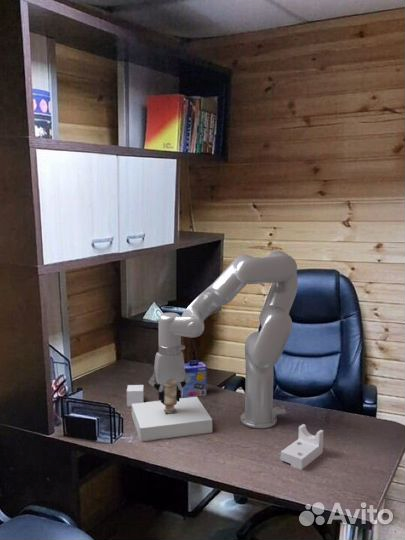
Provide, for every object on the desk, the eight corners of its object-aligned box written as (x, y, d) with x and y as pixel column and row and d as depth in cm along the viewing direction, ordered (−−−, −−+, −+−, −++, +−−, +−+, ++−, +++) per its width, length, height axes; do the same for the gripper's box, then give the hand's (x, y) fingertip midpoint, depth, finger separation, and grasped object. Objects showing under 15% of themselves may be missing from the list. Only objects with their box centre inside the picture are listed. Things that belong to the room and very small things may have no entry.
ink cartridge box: (182, 398, 210) (182, 362, 207) (179, 393, 215) (178, 358, 212) (207, 395, 213) (207, 360, 210) (203, 390, 218) (203, 355, 215)
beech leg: (175, 410, 191) (175, 374, 188) (178, 416, 186) (178, 379, 184) (160, 411, 189) (160, 375, 187) (163, 417, 184) (163, 381, 182)
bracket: (302, 446, 173) (302, 424, 172) (322, 453, 168) (323, 430, 167) (280, 462, 163) (281, 439, 162) (301, 470, 158) (302, 446, 157)
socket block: (196, 408, 201) (196, 396, 200) (212, 432, 182) (212, 419, 181) (131, 415, 194) (131, 403, 194) (140, 441, 175) (140, 428, 175)
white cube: (126, 406, 203) (126, 391, 202) (128, 400, 209) (127, 385, 208) (143, 406, 203) (142, 390, 202) (143, 399, 209) (143, 384, 208)
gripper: (191, 344, 190) (191, 394, 193) (142, 348, 185) (143, 399, 188) (196, 351, 182) (196, 402, 185) (146, 354, 178) (146, 407, 181)
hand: (169, 400), depth 187 cm, fingers closed on beech leg, 4 cm apart
